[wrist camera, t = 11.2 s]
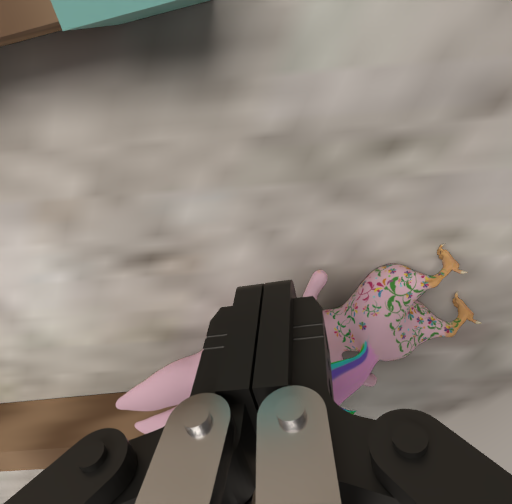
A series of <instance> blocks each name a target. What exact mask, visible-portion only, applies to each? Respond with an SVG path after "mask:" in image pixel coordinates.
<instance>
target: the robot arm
mask: <svg viewBox="0 0 512 504" xmlns="http://www.w3.org/2000/svg"><path fill="white" fill-rule="evenodd" d="M203 349H204V350H203V351H202V354H201V358H200V361H199V365H198V369H197V372H196V376H195V380H194V383H193V387H192V391H191V394H190V397H189V398H187V399H185V400H184V401H182V402H181V403H180V404H179V405H177V406H176V407H175V409H174V410H173V411H172V412H171V414H170V415H169V417H168V420H167V422H166V425H165V426H164V427H162V428H160V429H158V430H155V431H153V432H150V433H147V434H145V435H142V436H139V437H137V438H134V439H131V440H129V441H128V440H127V438H126V436H125V435H124V434H123V433H122V432H121V431H120V430H118V429H115V428H103V429H99V430H96V431H94V432H92V433H90V434H88V435H86V436H85V437H83V438H82V439H81V440H79V441H78V442H77V443H76V444H74V445H73V446H72V447H71V448H70V449H69V450H67V451H66V452H65V453H64V454H63V455H61V456H60V457H59V458H58V459H57V460H55V461H54V462H53V463H52V464H51V465H49V466H48V467H47V468H46V469H45V470H43V471H42V472H41V473H40V474H39V475H37V476H36V477H35V478H34V479H33V480H31V481H30V482H29V483H28V484H27V485H25V486H24V487H23V488H22V489H21V490H19V491H18V492H17V493H16V494H15V495H13V496H12V497H11V498H10V499H9V500H7V501H6V502H5V503H4V504H512V475H511V474H510V473H508V472H507V471H506V470H504V469H503V468H502V467H500V466H499V465H498V464H496V463H495V462H493V461H492V460H491V459H489V458H488V457H487V456H485V455H484V454H483V453H481V452H480V451H479V450H477V449H476V448H475V447H473V446H472V445H470V444H469V443H468V442H466V441H465V440H464V439H462V438H461V437H460V436H458V435H457V434H456V433H454V432H453V431H451V430H450V429H449V428H447V427H446V426H445V425H443V424H442V423H441V422H439V421H438V420H437V419H435V418H433V417H432V416H430V415H428V414H426V413H424V412H421V411H417V410H412V409H398V410H393V411H390V412H387V413H385V414H383V415H382V416H380V417H379V418H378V419H377V420H373V419H368V418H364V417H360V416H357V415H353V414H351V413H349V412H347V411H345V410H344V409H342V408H341V407H340V406H338V405H337V404H336V403H335V401H334V395H333V383H332V372H331V360H330V349H329V344H328V338H327V333H326V328H325V322H324V317H323V311H322V307H321V306H320V305H319V303H318V302H317V301H316V299H315V298H314V297H313V296H308V297H300V298H296V293H295V289H294V284H293V281H292V280H286V281H278V282H271V283H265V284H257V285H249V286H242V287H237V289H236V294H235V298H234V303H233V306H229V307H221V308H220V310H219V311H218V312H217V313H216V315H215V316H214V317H213V318H212V320H211V321H210V325H209V328H208V332H207V338H206V339H205V343H204V347H203Z"/></svg>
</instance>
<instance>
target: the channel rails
mask: <svg viewBox="0 0 512 504" xmlns="http://www.w3.org/2000/svg"><path fill="white" fill-rule="evenodd" d="M206 1H210V0H0V47H1V46H5V45H9V44H13V43H16V42H20V41H24V40H27V39H31V38H35V37H38V36H42V35H46V34H49V33H53V32H57V31H60V30H63V31H68V30H77V29H85V28H94V27H103V26H111V25H120V24H123V23H127V22H131V21H135V20H138V19H142V18H146V17H150V16H153V15H157V14H161V13H165V12H168V11H172V10H176V9H180V8H184V7H187V6H191V5H195V4H199V3H202V2H206ZM126 393H127V392H123V393H112V394H101V395H90V396H79V397H69V398H58V399H47V400H36V401H25V402H14V403H3V404H0V471H15V470H32V469H46V468H47V467H48V466H49V465H51V464H52V463H53V462H54V461H55V460H57V459H58V458H59V457H60V456H61V455H63V454H64V453H65V452H66V451H67V450H69V449H70V448H71V447H72V446H73V445H74V444H76V443H77V442H78V441H79V440H81V439H82V438H83V437H85V436H86V435H88V434H90V433H92V432H94V431H96V430H99V429H103V428H115V429H118V430H120V431H121V432H122V433H123V434H124V435H125V436H126V438H127V440H128V441H129V440H131V439H134V438H137V437H139V436H142V435H145V434H144V433H142V432H140V431H139V430H137V429H136V428H135V423H136V422H139V421H142V420H145V419H147V418H150V417H152V416H154V415H157V414H160V413H163V412H165V411H167V410H170V409H172V408H174V407H176V406H177V405H175V406H170V407H166V408H163V409H160V410H155V411H133V410H120V409H117V408H116V402H117V400H118V399H119V398H120V397H121V396H123V395H124V394H126Z"/></svg>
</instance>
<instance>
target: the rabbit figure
mask: <svg viewBox="0 0 512 504" xmlns="http://www.w3.org/2000/svg"><path fill="white" fill-rule="evenodd" d="M444 245H445V244H442V245H440V247H439V249H438V250H437V255H439V258H440V259H441V260H443V261H442V263H443V268H442V270H441V271H440V272H439V273H438V274H436V275H433V276H428V275H424V274H422V273H419V272H416V271H414V270H412V269H410V268H408V267H406V266H403V265H400V264H387V265H384V266H381V267H379V268H377V269H375V270H374V271H373V272H371V273H370V274H369V275H368V276H367V277H366V278H365V280H364V281H363V282H362V283H361V284H360V286H359V287H358V288H357V289H356V291H355V292H354V293H353V294H352V296H351V297H350V298H349V300H348V301H347V302H346V303H345V304H344V305H342V306H341V307H338V308H335V309H327V310H322V311H323V317H324V322H325V328H326V333H327V338H328V344H329V349H330V360H331V372H332V383H333V395H334V401H335V403H336V404H337V405H338V406H339V405H340V404H341V403H342V402H343V401H344V400H345V399H346V398H348V397H349V396H350V395H351V394H353V393H354V392H355V391H356V390H357V389H358V388H359V387H360V386H361V385H365V386H374V385H375V384H376V382H377V378H376V376H375V375H374V374H372V373H371V371H372V369H373V367H374V366H375V364H376V363H377V362H378V361H392V360H398V359H401V358H404V357H406V356H408V355H409V354H410V353H411V352H412V351H413V350H414V349H415V348H416V347H417V346H418V345H420V344H421V343H423V342H425V341H427V340H430V339H432V338H436V337H452V336H454V335H455V334H456V332H457V330H458V329H459V327H460V326H461V325H462V324H463V323H464V322H465V321H466V320H467V319H468V320H469V321H472V322H474V323H475V324H480V323H481V322H479V321H477V320H474V319H473V315H474V314H473V312H472V311H471V310H470V309H469V308H468V307H467V306H466V304H465V303H464V302H463V301H462V300H461V299H459V298H458V291H457V292H456V293H455V298H453V304H454V306H455V307H456V308H458V316H457V318H456V319H455V320H454V321H452V322H445V321H442V320H441V319H439V318H437V317H436V316H435V315H434V314H432V313H431V312H430V311H429V310H428V308H427V307H426V306H424V305H423V304H422V303H420V302H418V301H416V300H417V299H418V298H419V297H420V296H421V295H422V294H423V293H424V292H425V291H426V290H427V289H429V288H435V287H436V286H438V284H439V283H440V281H441V280H442V279H443V278H444V277H445V276H447V275H448V274H449V273H450V272H451V271H452V270H454V271H455V272H458V273H460V274H464V273H468V272H465V271H463V270H459V269H458V268H459V264H458V262H457V261H456V260H454V258H453V257H452V256H451V254H450V253H449V252H448V251H447V250H443V249H442V247H443V246H444ZM440 252H441V254H440ZM326 282H327V273H326V272H325V271H323V270H317V271H315V272H314V273H313V275H312V277H311V279H310V281H309V283H308V285H307V287H306V289H305V292H304V294H303V297H308V296H313V297H314V298H315V299H316V301H317V296H318V294H319V292H320V290H321V289H322V288H323V286H324V285H325V284H326ZM203 350H204V349H203ZM203 350H202V351H203ZM202 351H200V352H198V353H196V354H194V355H191V356H188V357H185V358H182V359H179V360H177V361H175V362H172V363H170V364H168V365H167V366H165V367H163V368H162V369H160V370H158V371H157V372H155V373H154V374H153V375H151V376H150V377H149V378H147V379H146V380H145V381H143V382H142V383H140V384H138V385H137V386H135V387H134V388H132V389H131V390H130V391H128V392H127V393H126V394H124V395H123V396H121V397H120V398H119V399H118V400H117V402H116V408H117V409H120V410H133V411H155V410H160V409H163V408H166V407H170V406H175V405H179V404H180V403H181V402H182V401H184V400H185V399H187V398H189V397H190V394H191V391H192V387H193V383H194V380H195V376H196V372H197V369H198V365H199V361H200V358H201V354H202ZM344 351H356V352H359V354H358V355H356V356H355V357H352V358H349V359H345V360H344V359H343V357H342V353H343V352H344ZM174 409H175V407H174V408H172V409H170V410H167V411H165V412H163V413H160V414H157V415H154V416H152V417H150V418H147V419H145V420H142V421H139V422H136V423H135V428H136V429H137V430H139V431H140V432H142V433H144V434H147V433H150V432H153V431H155V430H158V429H160V428H162V427H164V426H165V425H166V422H167V420H168V417H169V415H170V414H171V412H172V411H173V410H174ZM342 409H344V408H342ZM344 410H345V411H347V412H349V413H351V414H354V413H355V412H356V411H349V410H346V409H344Z"/></svg>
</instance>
